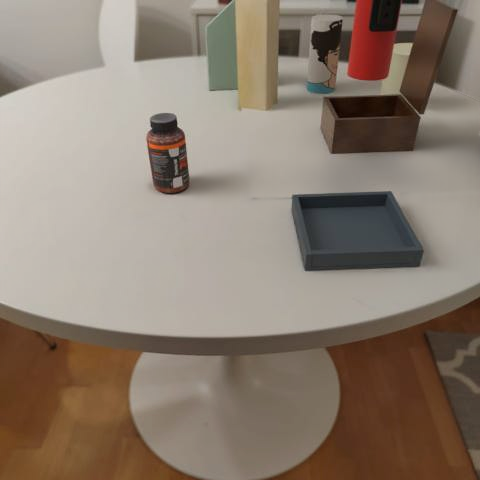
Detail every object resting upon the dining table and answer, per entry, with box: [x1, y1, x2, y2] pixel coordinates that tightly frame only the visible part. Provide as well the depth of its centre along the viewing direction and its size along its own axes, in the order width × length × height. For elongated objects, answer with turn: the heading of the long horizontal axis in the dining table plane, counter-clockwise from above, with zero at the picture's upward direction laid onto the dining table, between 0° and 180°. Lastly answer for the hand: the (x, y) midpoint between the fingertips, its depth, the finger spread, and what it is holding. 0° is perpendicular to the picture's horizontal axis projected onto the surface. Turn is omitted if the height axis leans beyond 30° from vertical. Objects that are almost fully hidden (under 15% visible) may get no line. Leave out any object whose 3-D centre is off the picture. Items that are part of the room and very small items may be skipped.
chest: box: [320, 94, 422, 155], centre depth 84 cm, size 15×12×7 cm
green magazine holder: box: [204, 0, 238, 91], centre depth 107 cm, size 16×8×20 cm, turn 96°
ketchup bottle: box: [346, 0, 403, 82], centre depth 57 cm, size 5×5×11 cm
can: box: [379, 42, 415, 110], centre depth 96 cm, size 9×9×12 cm
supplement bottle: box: [145, 112, 190, 194], centre depth 71 cm, size 6×6×11 cm
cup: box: [306, 13, 344, 95], centre depth 104 cm, size 7×7×15 cm
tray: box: [291, 190, 425, 271], centre depth 62 cm, size 15×15×3 cm
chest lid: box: [399, 0, 459, 115], centre depth 76 cm, size 15×12×1 cm
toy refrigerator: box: [235, 0, 281, 112], centre depth 95 cm, size 8×7×21 cm
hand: (375, 23), depth 57 cm, fingers closed on ketchup bottle, 5 cm apart
